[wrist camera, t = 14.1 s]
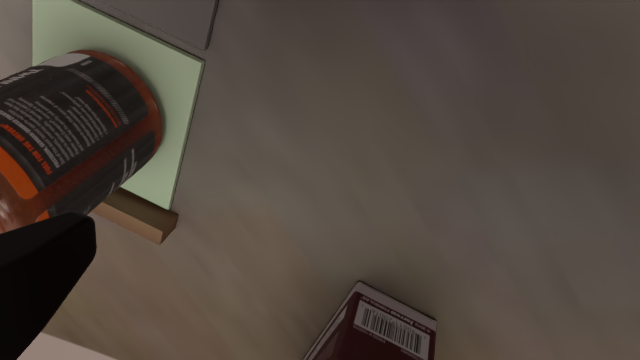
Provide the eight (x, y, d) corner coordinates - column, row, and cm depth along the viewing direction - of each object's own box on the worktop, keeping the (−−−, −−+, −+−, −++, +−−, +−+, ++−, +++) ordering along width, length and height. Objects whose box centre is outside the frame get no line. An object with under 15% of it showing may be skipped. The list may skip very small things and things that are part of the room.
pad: (37, -19, 20) (32, -18, 20) (205, 61, 20) (201, 63, 20) (36, 140, 25) (32, 143, 25) (171, 206, 25) (168, 209, 25)
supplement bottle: (58, 21, 21) (-279, 130, 11) (179, 82, 21) (-61, 240, 11) (52, 131, 24) (-211, 283, 15) (157, 183, 24) (-42, 370, 15)
